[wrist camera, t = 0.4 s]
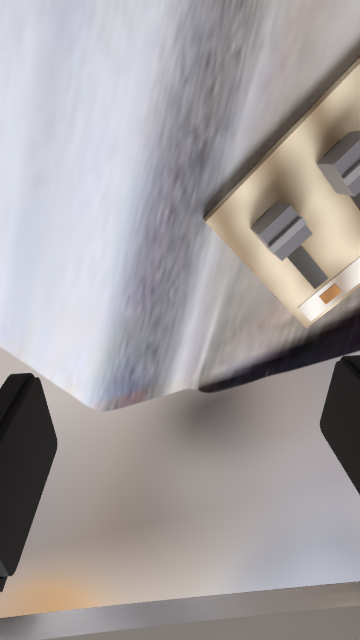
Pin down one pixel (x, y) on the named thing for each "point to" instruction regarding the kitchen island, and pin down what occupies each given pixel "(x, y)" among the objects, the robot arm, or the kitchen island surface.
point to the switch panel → (302, 208)
